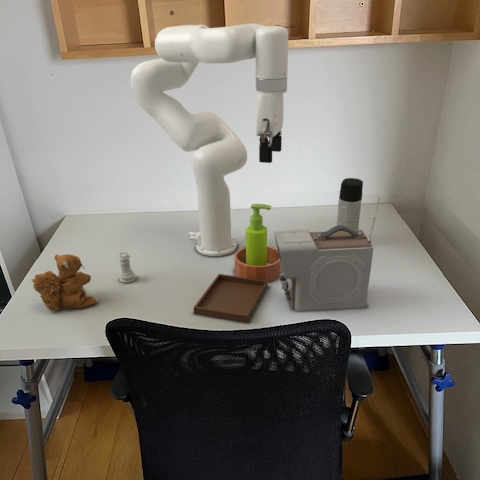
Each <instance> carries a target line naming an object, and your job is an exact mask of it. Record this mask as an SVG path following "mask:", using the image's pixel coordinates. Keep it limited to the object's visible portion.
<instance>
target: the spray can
mask: <svg viewBox="0 0 480 480" xmlns="http://www.w3.org/2000/svg"><path fill="white" fill-rule="evenodd" d="M363 187H364V181H363V179H359V178H354V177H347V178H344V179H343V180H342V181H341V183H340V189H339V195H338V196H339V197H338V207H337V217H336V226H338V225H342V226H345V227H347V228H348V229H350V230H359V226H360V219H361V209H362V202H363Z"/></svg>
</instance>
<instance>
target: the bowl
mask: <svg viewBox="0 0 480 480" xmlns="http://www.w3.org/2000/svg"><path fill="white" fill-rule="evenodd" d="M233 259H234V274H235V275H234V276H237V277H244V278H251V279H258V280H265V281H268V283H269V282H274V281H275V280H277V279H278V278H280V273H283V270H282V266H281V263H280V259H279V254H278V249H277V247H276V248H275V247H273V246H270V245H267V265H265V266H253V265H247V264H246V246H245V247H242V248H240V249H238V250H237V251H235V254H234V258H233Z"/></svg>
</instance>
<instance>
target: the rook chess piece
mask: <svg viewBox="0 0 480 480" xmlns="http://www.w3.org/2000/svg"><path fill="white" fill-rule="evenodd" d="M117 258H118V260H119V264H120V272H119V275H118V276H119V281H120V282H122V283H124V284H130V283H133V282H134V281H135V279H136V275H135V272H134V271H133V270H132V268H131V263H130V262H131V260H130V258H131V256H130V254H129V253H128V252H127V251H124V252H123V251H122V252H120V253H119V254H118V257H117Z"/></svg>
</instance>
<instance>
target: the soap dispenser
mask: <svg viewBox="0 0 480 480" xmlns="http://www.w3.org/2000/svg"><path fill="white" fill-rule="evenodd" d="M250 209H251V210H252V215H250V216H249V224H250V225H248V226H247V227H246V228H245V247H246V264H247V265H253V266H265V265H268V262H267V246H268V228H267V227H266V226H265V225H264V223H263V222H264V219H263V215H261V213H260V212H261V211H260V210H266V211H270V210H271V209H272V205H269V204H265V203H251V205H250Z"/></svg>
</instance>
